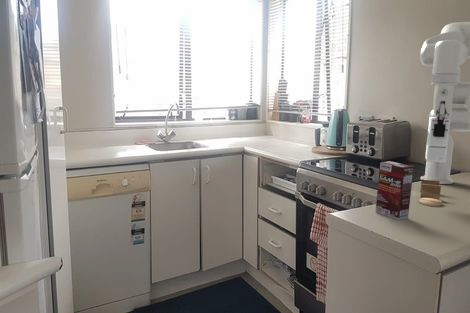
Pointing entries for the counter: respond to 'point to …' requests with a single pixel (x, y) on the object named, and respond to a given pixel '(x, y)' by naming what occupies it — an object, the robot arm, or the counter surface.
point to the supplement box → (394, 190)
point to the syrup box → (437, 143)
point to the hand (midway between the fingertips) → (438, 135)
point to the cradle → (430, 189)
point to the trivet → (430, 202)
